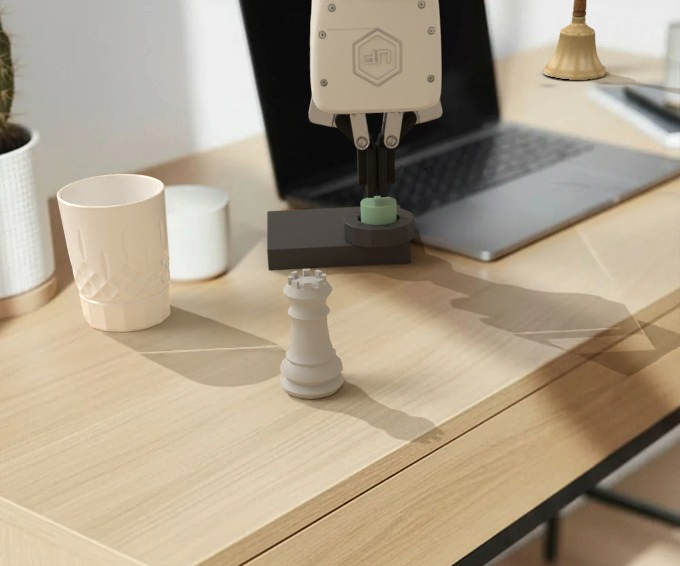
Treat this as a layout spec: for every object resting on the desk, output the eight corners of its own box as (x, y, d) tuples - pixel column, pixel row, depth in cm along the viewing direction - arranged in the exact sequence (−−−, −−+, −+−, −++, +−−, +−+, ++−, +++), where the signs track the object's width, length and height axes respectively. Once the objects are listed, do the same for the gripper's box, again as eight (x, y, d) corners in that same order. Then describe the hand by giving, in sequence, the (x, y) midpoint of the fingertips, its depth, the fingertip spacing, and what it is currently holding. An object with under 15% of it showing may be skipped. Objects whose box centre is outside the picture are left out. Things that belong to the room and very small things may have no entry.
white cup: (150, 341, 90) (133, 210, 84) (58, 330, 92) (36, 202, 87) (195, 301, 96) (182, 177, 91) (107, 292, 98) (89, 170, 93)
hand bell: (613, 68, 159) (624, -65, 150) (597, 82, 152) (608, -56, 144) (552, 64, 162) (560, -66, 153) (534, 78, 155) (541, -57, 147)
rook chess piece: (319, 366, 85) (314, 258, 81) (358, 387, 82) (355, 276, 78) (267, 385, 83) (259, 274, 79) (305, 407, 80) (299, 294, 76)
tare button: (394, 215, 102) (394, 194, 102) (398, 226, 100) (398, 206, 99) (359, 216, 102) (359, 196, 101) (362, 228, 100) (361, 207, 99)
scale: (404, 224, 110) (404, 186, 108) (417, 268, 100) (417, 227, 99) (268, 231, 109) (265, 193, 108) (268, 275, 100) (265, 235, 98)
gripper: (274, -38, 87) (286, 211, 96) (480, -45, 87) (472, 203, 97) (273, -52, 93) (285, 183, 103) (465, -59, 93) (459, 175, 103)
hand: (376, 192), depth 100 cm, fingers closed
